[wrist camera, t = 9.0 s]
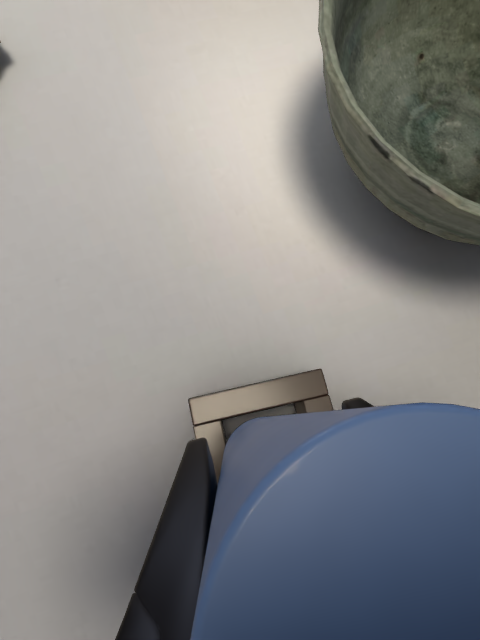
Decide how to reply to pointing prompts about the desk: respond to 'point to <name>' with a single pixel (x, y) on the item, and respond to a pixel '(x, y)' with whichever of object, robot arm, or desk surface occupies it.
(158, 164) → the desk surface
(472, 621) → the blue tall cylinder
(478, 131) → the bowl
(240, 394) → the frame
